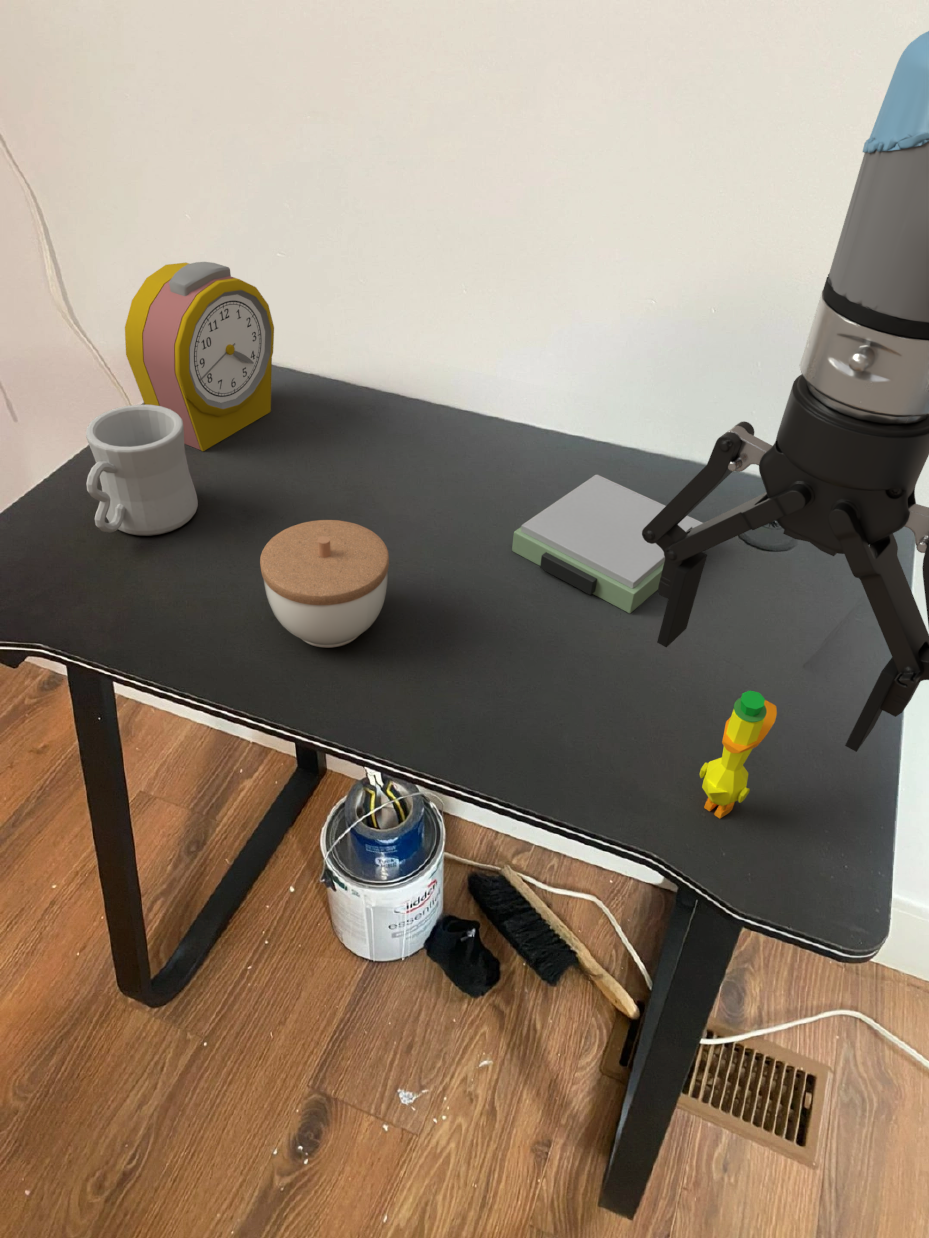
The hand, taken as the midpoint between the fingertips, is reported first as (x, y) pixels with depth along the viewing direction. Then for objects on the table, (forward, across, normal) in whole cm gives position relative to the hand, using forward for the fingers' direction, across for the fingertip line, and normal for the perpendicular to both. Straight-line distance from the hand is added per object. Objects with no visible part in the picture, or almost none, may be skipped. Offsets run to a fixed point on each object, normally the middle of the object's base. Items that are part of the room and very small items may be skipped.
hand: (760, 684), depth 61 cm
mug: (+13, -61, -8) cm, 63 cm away
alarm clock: (+14, -72, +10) cm, 73 cm away
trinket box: (+13, -36, -6) cm, 38 cm away
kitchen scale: (+13, -24, +21) cm, 34 cm away
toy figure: (+13, 0, 0) cm, 13 cm away
